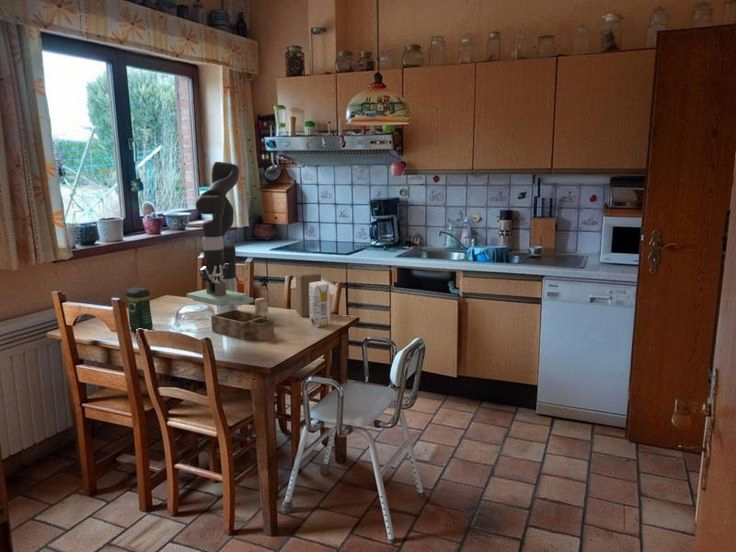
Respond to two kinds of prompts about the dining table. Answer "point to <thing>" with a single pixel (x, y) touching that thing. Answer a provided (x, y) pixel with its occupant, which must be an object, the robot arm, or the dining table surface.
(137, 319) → the coffee jar
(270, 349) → the dining table surface
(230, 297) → the lid
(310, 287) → the juice carton
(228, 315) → the wooden tray
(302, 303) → the wooden block
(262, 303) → the beige rectangular block
